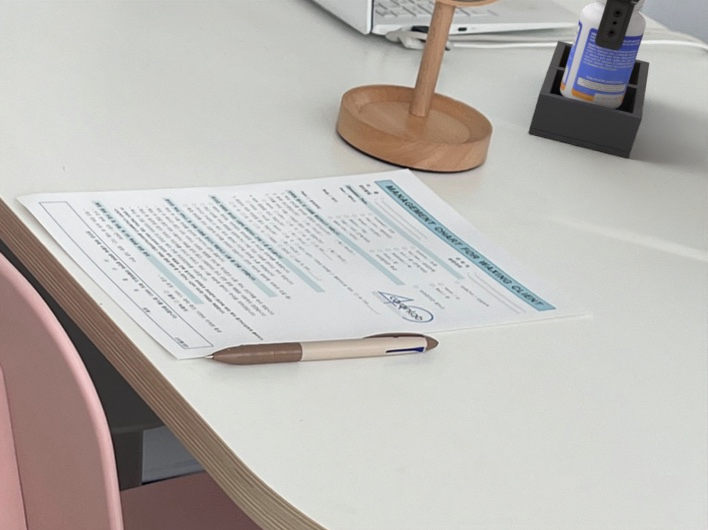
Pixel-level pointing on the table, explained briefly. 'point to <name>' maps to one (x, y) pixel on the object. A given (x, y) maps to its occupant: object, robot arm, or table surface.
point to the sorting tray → (589, 111)
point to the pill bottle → (601, 60)
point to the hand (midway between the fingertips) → (609, 36)
